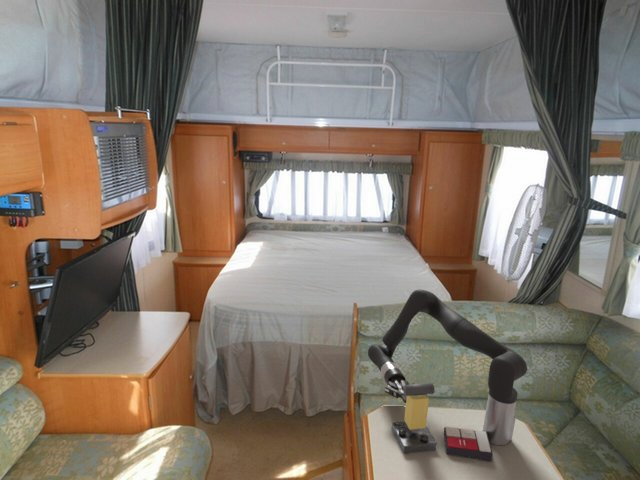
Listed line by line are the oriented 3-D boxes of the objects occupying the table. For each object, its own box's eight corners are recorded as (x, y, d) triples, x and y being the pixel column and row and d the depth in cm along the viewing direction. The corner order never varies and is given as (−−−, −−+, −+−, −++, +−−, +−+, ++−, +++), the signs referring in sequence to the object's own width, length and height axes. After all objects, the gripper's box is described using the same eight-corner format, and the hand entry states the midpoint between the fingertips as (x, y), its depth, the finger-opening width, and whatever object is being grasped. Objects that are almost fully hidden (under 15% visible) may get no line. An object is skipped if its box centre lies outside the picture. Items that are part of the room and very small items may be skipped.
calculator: (444, 424, 156) (487, 429, 154) (443, 434, 157) (486, 439, 155) (446, 446, 146) (493, 451, 143) (446, 456, 147) (491, 462, 144)
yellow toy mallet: (424, 422, 155) (429, 379, 151) (430, 432, 151) (435, 387, 146) (398, 425, 153) (402, 381, 149) (403, 435, 149) (408, 390, 144)
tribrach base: (421, 426, 160) (422, 416, 159) (435, 449, 149) (437, 439, 148) (391, 429, 158) (392, 419, 157) (403, 453, 146) (404, 443, 145)
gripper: (377, 368, 170) (392, 394, 154) (408, 366, 173) (426, 391, 156) (376, 384, 172) (390, 412, 156) (406, 382, 175) (424, 409, 158)
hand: (408, 402), depth 156 cm, fingers closed
